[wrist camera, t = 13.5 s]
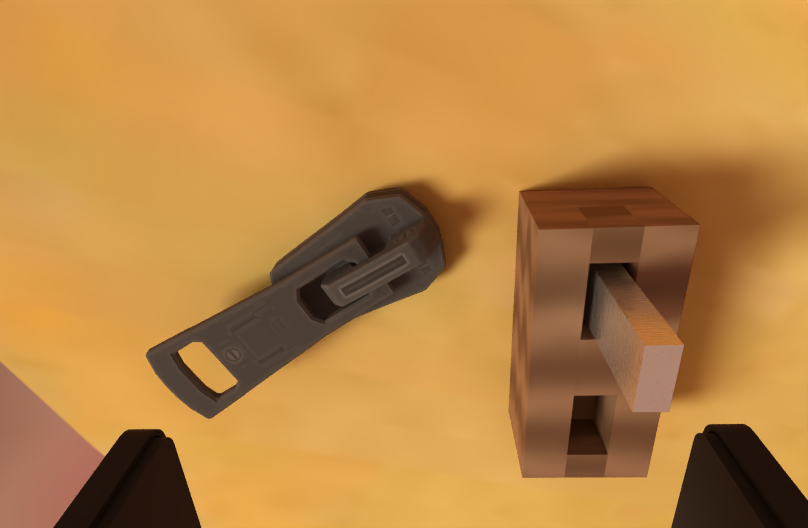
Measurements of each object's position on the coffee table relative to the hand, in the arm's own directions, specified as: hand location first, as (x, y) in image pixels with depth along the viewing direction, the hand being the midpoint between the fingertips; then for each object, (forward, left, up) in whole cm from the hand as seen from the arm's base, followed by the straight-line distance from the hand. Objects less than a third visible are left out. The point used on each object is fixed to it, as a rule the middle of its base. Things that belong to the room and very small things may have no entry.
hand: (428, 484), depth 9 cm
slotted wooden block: (+16, +12, -32) cm, 38 cm away
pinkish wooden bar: (+11, +12, -28) cm, 33 cm away
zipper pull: (+13, -11, -33) cm, 37 cm away
